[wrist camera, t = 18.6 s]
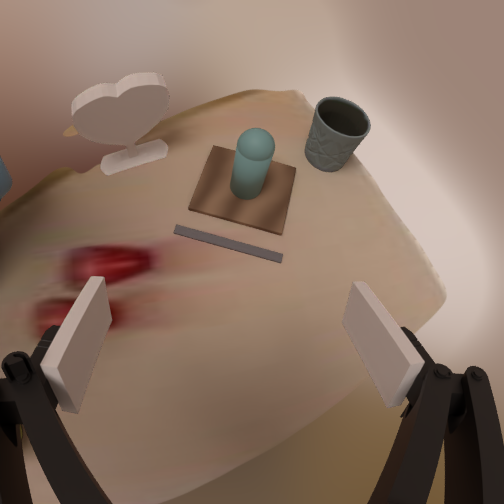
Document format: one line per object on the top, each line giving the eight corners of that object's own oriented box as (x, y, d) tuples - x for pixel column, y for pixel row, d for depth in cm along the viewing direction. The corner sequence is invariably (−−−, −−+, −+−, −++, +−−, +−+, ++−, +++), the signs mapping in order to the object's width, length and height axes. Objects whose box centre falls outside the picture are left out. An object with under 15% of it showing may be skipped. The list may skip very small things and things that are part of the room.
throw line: (173, 233, 51) (173, 232, 50) (176, 225, 51) (176, 224, 51) (280, 263, 51) (281, 262, 51) (282, 254, 52) (283, 254, 52)
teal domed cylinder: (226, 194, 53) (234, 143, 40) (234, 169, 55) (244, 116, 43) (257, 203, 54) (274, 153, 41) (264, 177, 56) (281, 126, 43)
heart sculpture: (169, 135, 57) (162, 63, 41) (176, 154, 56) (169, 81, 39) (94, 159, 54) (66, 92, 37) (97, 179, 52) (66, 112, 35)
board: (188, 209, 52) (188, 207, 52) (213, 147, 57) (213, 145, 57) (280, 235, 53) (281, 233, 52) (295, 170, 58) (296, 167, 57)
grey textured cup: (355, 168, 61) (381, 131, 49) (316, 182, 58) (338, 142, 47) (329, 132, 63) (348, 93, 52) (290, 142, 60) (305, 100, 49)
